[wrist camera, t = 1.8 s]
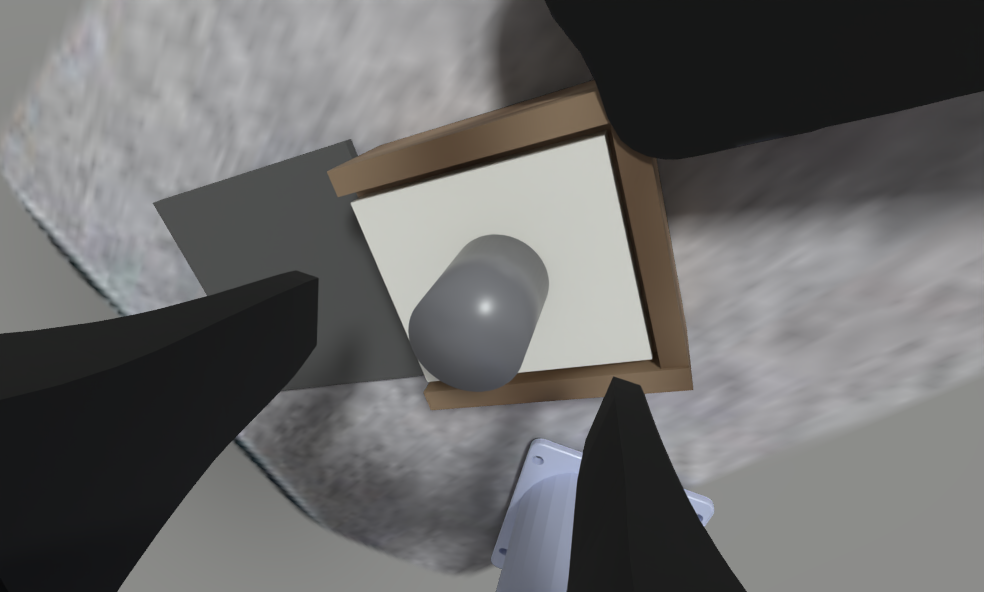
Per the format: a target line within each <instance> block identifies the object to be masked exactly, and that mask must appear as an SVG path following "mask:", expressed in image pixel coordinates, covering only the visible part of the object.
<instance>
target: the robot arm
mask: <svg viewBox="0 0 984 592" xmlns="http://www.w3.org/2000/svg"><path fill="white" fill-rule="evenodd" d="M318 287H319V278H318V277H315V276H312V275H309V274H306V273H303V272H300V271H297V270H295V271H290V272H286V273H282V274H279V275H275V276H272V277H268V278H265V279H262V280H259V281H255V282H252V283H249V284H246V285H242V286H239V287H236V288H233V289H229V290H226V291H223V292H219V293H216V294H213V295H210V296H206V297H202V298H199V299H195V300H191V301H187V302H184V303H180V304H176V305H173V306H169V307H165V308H161V309H157V310H153V311H149V312H144V313H140V314H135V315H130V316H125V317H120V318H115V319H110V320H104V321H99V322H93V323H86V324H78V325H71V326H64V327H56V328H49V329H42V330H34V331H25V332H14V333H4V334H0V592H117V591H118V590H119V588H120V586H121V585H122V583H123V582H124V581H125V579H126V578H127V576H128V575H129V573H130V572H131V571H132V569H133V568H134V566H135V565H136V563H137V562H138V560H139V559H140V558H141V556H142V555H143V553H144V552H145V551H146V549H147V548H148V546H149V545H150V543H151V542H152V541H153V539H154V538H155V536H156V535H157V534H158V532H159V531H160V530H161V528H162V527H163V526H164V524H165V523H166V522H167V520H168V519H169V518H170V516H171V515H172V514H173V512H174V511H175V510H176V508H177V507H178V506H179V504H180V503H181V502H182V500H183V499H184V498H185V496H186V495H187V494H188V493H189V491H190V490H191V489H192V488H193V486H194V485H195V484H196V482H197V481H198V480H199V479H200V477H201V476H202V475H203V474H204V472H205V471H206V470H207V469H208V467H209V466H210V465H211V463H212V462H213V461H214V460H215V459H216V457H218V456H219V454H220V453H221V452H222V451H223V450H224V449H225V448H226V446H227V445H228V444H229V443H230V442H231V441H232V440H233V439H234V438H235V437H236V436H237V435H238V434H239V433H240V432H241V431H242V430H243V429H244V428H245V427H246V426H247V425H248V424H249V423H250V422H251V421H252V420H253V419H254V418H255V417H256V416H257V415H258V414H259V413H260V412H261V411H262V410H263V409H264V408H265V407H266V406H267V405H268V403H269V402H270V401H271V400H272V399H273V398H274V397H275V396H276V395H277V394H278V393H279V392H280V391H281V390H282V389H283V388H284V387H285V386H286V385H287V384H288V383H289V382H290V380H291V379H292V378H293V377H294V376H295V375H296V373H297V372H298V371H299V369H300V368H301V367H302V365H303V364H304V363H305V361H306V360H307V359H308V357H309V356H310V354H311V353H312V351H313V350H314V349H315V347H316V346H317V324H318ZM536 456H540V457H541V458H537V457H536ZM713 513H714V505H713V502H712V501H711V500H710V499H709V498H708V497H706V496H703V495H700V494H697V493H694V492H692V491H689V490H686V489H683V487H682V485H681V483H680V481H679V478H678V476H677V474H676V472H675V470H674V468H673V466H672V463H671V461H670V459H669V456H668V454H667V452H666V450H665V447H664V445H663V443H662V440H661V438H660V435H659V433H658V430H657V428H656V425H655V422H654V420H653V417H652V414H651V412H650V409H649V406H648V403H647V400H646V397H645V394H644V392H643V389H642V387H641V385H638V384H635V383H632V382H629V381H626V380H623V379H620V378H617V377H614V376H613V378H612V380H611V383H610V385H609V387H608V389H607V392H606V394H605V396H604V399H603V401H602V403H601V406H600V408H599V410H598V413H597V415H596V417H595V419H594V422H593V424H592V426H591V429H590V431H589V433H588V436H587V438H586V441H585V445H584V450H583V453H582V452H579V451H577V450H574V449H571V448H568V447H565V446H563V445H560V444H557V443H554V442H551V441H549V440H546V439H542V438H539V439H535V440H533V441H532V443H531V445H530V448H529V451H528V454H527V457H526V459H525V462H524V465H523V468H522V471H521V474H520V477H519V479H518V482H517V485H516V488H515V491H514V494H513V496H512V499H511V502H510V505H509V508H508V511H507V513H506V516H505V519H504V522H503V525H502V528H501V530H500V533H499V536H498V539H497V542H496V545H495V547H494V550H493V553H492V556H491V562H492V564H493V565H494V566H496V567H498V568H500V569H502V571H501V575H500V579H499V582H498V586H497V590H496V592H747V591H746V590H745V589H744V587H743V586H742V584H741V583H740V582H739V580H738V579H737V577H736V576H735V574H734V573H733V572H732V570H731V569H730V567H729V566H728V564H727V563H726V561H725V560H724V558H723V557H722V555H721V554H720V552H719V551H718V549H717V547H716V546H715V544H714V542H713V541H712V539H711V537H710V536H709V534H708V533H707V531H706V529H705V528H704V527H705V525H706V524H707V522H708V521H709V520H710V518H711V517H712V515H713ZM697 514H698V515H697Z"/></svg>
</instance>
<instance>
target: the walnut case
mask: <svg viewBox="0 0 984 592" xmlns="http://www.w3.org/2000/svg"><path fill="white" fill-rule="evenodd" d="M603 130H607V134H608V138H609V143H610V148H611V152H612V157H613V162H614V167H615V171H616V176H617V181H618V185H619V190H620V195H621V200H622V204H623V209H624V214H625V218H626V223H627V228H628V233H629V237H630V242H631V247H632V251H633V256H634V261H635V266H636V270H637V275H638V280H639V284H640V289H641V294H642V299H643V303H644V308H645V313H646V317H647V322H648V327H649V332H650V336H651V341H652V359H650V360H640V361H630V362H620V363H610V364H601V365H591V366H581V367H571V368H561V369H551V370H541V371H531V372H521V373H517V374H516V376H515V377H514V378H513V379H512V380H511V381H510V382H508V383H507V384H505V385H504V386H502V387H499V388H497V389H494V390H490V391H484V392H472V391H465V390H461V389H457V388H454V387H452V386H449V385H447V384H445V383H443V382H441V381H432V382H430V383H429V384H428V386H427V388H426V389H425V391H424V392H423V393H424V395H425V397H426V400H427V402H428V404H429V407H430V409H431V410H440V409H453V408H466V407H479V406H492V405H505V404H518V403H530V402H543V401H556V400H569V399H582V398H595V397H604V396H605V394H606V392H607V389H608V387H609V385H610V383H611V380H612V378H613V376H614V377H617V378H620V379H623V380H626V381H629V382H632V383H635V384H638V385H641V387H642V389H643V392H644V394H647V393H660V392H672V391H685V390H693V382H692V373H691V364H690V354H689V345H688V336H687V328H686V322H685V316H684V311H683V305H682V300H681V294H680V288H679V283H678V277H677V272H676V266H675V260H674V255H673V249H672V244H671V238H670V232H669V227H668V221H667V216H666V210H665V204H664V199H663V193H662V188H661V182H660V176H659V171H658V165H657V160H656V158H654V157H648V156H646V155H643V154H641V153H639V152H637V151H634V150H633V149H631V148H630V147H629V146H627V145H626V144H625V143H624V142H622V141H621V140H620V138H619V136H618V135H617V133H616V131H615V130H614V128H613V126H612V125H611V123H610V121H609V120H608V118H607V115H606V112H605V109H604V106H603V103H602V100H601V97H600V94H599V91H598V88H597V85H596V82H595V80H592V81H589V82H585V83H582V84H579V85H576V86H572V87H569V88H566V89H563V90H559V91H556V92H553V93H550V94H546V95H543V96H540V97H536V98H533V99H530V100H527V101H523V102H520V103H517V104H514V105H510V106H507V107H504V108H501V109H497V110H494V111H491V112H488V113H484V114H481V115H478V116H475V117H471V118H468V119H465V120H462V121H458V122H455V123H452V124H449V125H445V126H442V127H439V128H436V129H432V130H429V131H426V132H423V133H419V134H416V135H413V136H410V137H406V138H403V139H400V140H397V141H393V142H390V143H387V144H383V145H380V146H378V147H376V148H374V149H372V150H370V151H368V152H366V153H364V154H362V155H360V156H358V157H355V158H353V159H351V160H349V161H347V162H345V163H343V164H341V165H339V166H337V167H335V168H333V169H331V170H329V171H327V174H328V176H329V178H330V180H331V183H332V185H333V187H334V190H335V192H336V194H337V196H338V197H340V196H344V195H348V194H351V193H355V192H356V194H357V196H358V198H359V197H361V196H362V195H365V194H369V193H373V192H376V191H380V190H384V189H388V188H391V187H395V186H399V185H402V184H406V183H410V182H414V181H417V180H421V179H425V178H428V177H432V176H436V175H440V174H443V173H447V172H451V171H454V170H458V169H462V168H466V167H469V166H473V165H477V164H481V163H484V162H488V161H492V160H495V159H499V158H503V157H507V156H510V155H514V154H518V153H521V152H525V151H529V150H533V149H536V148H540V147H544V146H547V145H551V144H555V143H559V142H562V141H566V140H570V139H574V138H577V137H581V136H585V135H588V134H592V133H596V132H600V131H603Z"/></svg>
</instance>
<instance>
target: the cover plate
mask: <svg viewBox="0 0 984 592" xmlns="http://www.w3.org/2000/svg"><path fill="white" fill-rule="evenodd" d="M351 206H352V208H353V210H354V212H355V215H356V217H357V219H358V222H359V224H360V226H361V229H362V231H363V233H364V236H365V238H366V240H367V243H368V245H369V247H370V250H371V252H372V254H373V257H374V259H375V261H376V264H377V266H378V268H379V271H380V273H381V275H382V278H383V280H384V282H385V285H386V287H387V289H388V292H389V294H390V296H391V299H392V301H393V303H394V306H395V308H396V310H397V313H398V315H399V317H400V320H401V322H402V324H403V327H404V329H405V331H406V333H407V336H408V338H409V340H410V344H411V347H412V350H413V352H414V354H415V356H416V357H417V359H418V361H419V364H420V366H421V368H422V371H423V373H424V375H425V378H426V380H427V382H432V381H441V382H443V383H445V384H447V385H449V386H452V387H454V388H457V389H461V390H465V391H472V392H484V391H490V390H494V389H497V388H499V387H502V386H504V385H505V384H507V383H508V382H510V381H511V380H512V379H513V378H514V377H515V376H516V374H517V373H521V372H531V371H541V370H551V369H561V368H571V367H581V366H591V365H601V364H610V363H620V362H630V361H640V360H650V359H652V341H651V336H650V332H649V327H648V322H647V317H646V313H645V308H644V303H643V299H642V294H641V289H640V284H639V280H638V275H637V270H636V266H635V261H634V256H633V251H632V247H631V242H630V237H629V233H628V228H627V223H626V218H625V214H624V209H623V204H622V200H621V195H620V190H619V185H618V181H617V176H616V171H615V167H614V162H613V157H612V152H611V148H610V143H609V138H608V134H607V130H603V131H600V132H596V133H592V134H588V135H585V136H581V137H577V138H574V139H570V140H566V141H562V142H559V143H555V144H551V145H547V146H544V147H540V148H536V149H533V150H529V151H525V152H521V153H518V154H514V155H510V156H507V157H503V158H499V159H495V160H492V161H488V162H484V163H481V164H477V165H473V166H469V167H466V168H462V169H458V170H454V171H451V172H447V173H443V174H440V175H436V176H432V177H428V178H425V179H421V180H417V181H414V182H410V183H406V184H402V185H399V186H395V187H391V188H388V189H384V190H380V191H376V192H373V193H369V194H365V195H362V196H361V197H359V198H357V199H356V200H354V201H353V202H351Z"/></svg>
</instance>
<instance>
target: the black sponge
mask: <svg viewBox="0 0 984 592" xmlns="http://www.w3.org/2000/svg"><path fill="white" fill-rule="evenodd" d="M545 1H546V3H547V6H548V8H549V10H550V12H551V14H552V17H553V18H554V19H555V21H556V22H557V23H558V24H559V26H560V27H561V28H562V30H563V31H564V32H565V33H566V35H567V36H568V37H569V39H570V40H571V41H572V42H573V44H574V45H575V46H576V48H577V49H578V50H579V51H580V53H581V55H582V56H583V58H584V60H585V62H586V64H587V66H588V68H589V70H590V72H591V74H592V76H593V78H594V79H595V82H596V85H597V88H598V91H599V94H600V97H601V100H602V103H603V106H604V109H605V112H606V115H607V118H608V120H609V121H610V123H611V125H612V126H613V128H614V130H615V131H616V133H617V135H618V136H619V138H620V140H621V141H622V142H624V143H625V144H626V145H627V146H629V147H630V148H631V149H633V150H634V151H637V152H639V153H641V154H643V155H646V156H648V157H654V158H660V159H682V158H688V157H694V156H699V155H705V154H709V153H713V152H718V151H722V150H727V149H731V148H736V147H740V146H744V145H749V144H753V143H758V142H763V141H768V140H773V139H778V138H783V137H788V136H792V135H797V134H802V133H807V132H812V131H815V130H818V129H821V128H824V127H828V126H833V125H837V124H842V123H847V122H851V121H856V120H861V119H866V118H870V117H875V116H880V115H884V114H889V113H894V112H898V111H902V110H906V109H910V108H914V107H918V106H923V105H927V104H931V103H935V102H939V101H943V100H947V99H951V98H955V97H959V96H963V95H968V94H972V93H976V92H981V91H984V0H545Z"/></svg>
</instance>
